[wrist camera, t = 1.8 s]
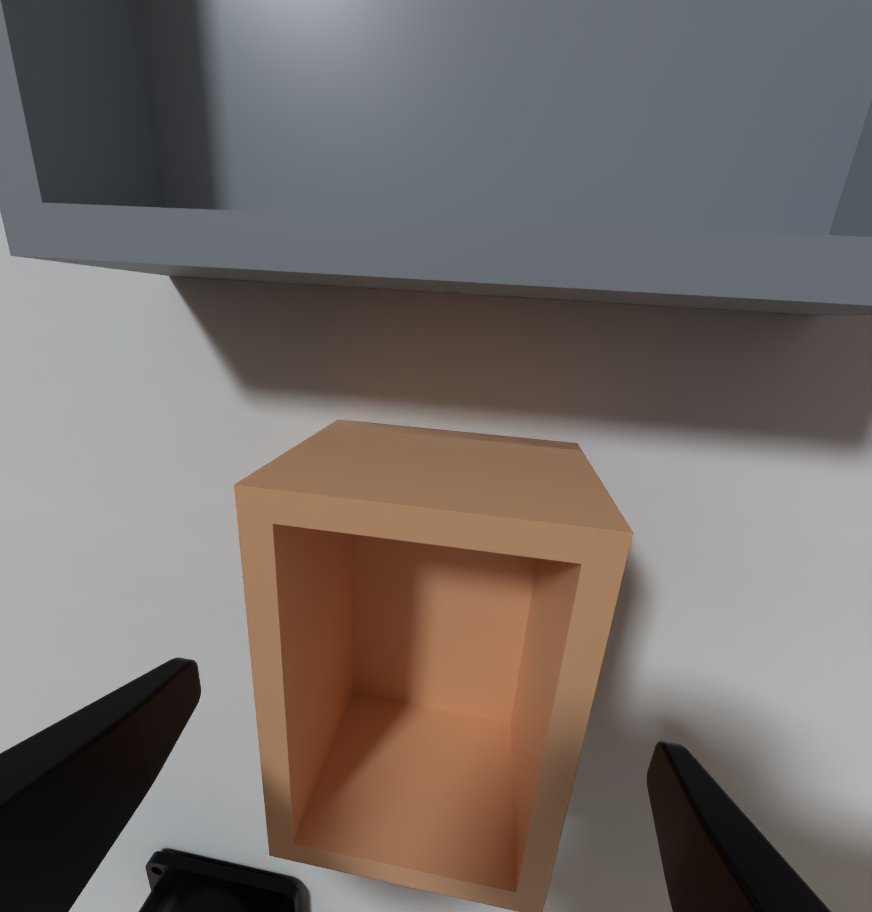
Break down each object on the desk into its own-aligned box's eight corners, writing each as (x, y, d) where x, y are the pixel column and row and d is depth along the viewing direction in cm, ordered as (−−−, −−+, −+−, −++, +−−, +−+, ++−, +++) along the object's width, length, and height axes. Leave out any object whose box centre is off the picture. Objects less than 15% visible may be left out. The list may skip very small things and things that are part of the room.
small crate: (340, 689, 14) (269, 855, 9) (337, 419, 11) (234, 484, 7) (527, 722, 13) (541, 917, 9) (577, 443, 10) (633, 532, 6)
